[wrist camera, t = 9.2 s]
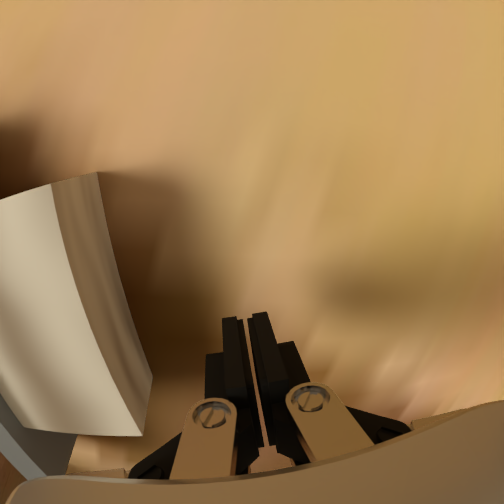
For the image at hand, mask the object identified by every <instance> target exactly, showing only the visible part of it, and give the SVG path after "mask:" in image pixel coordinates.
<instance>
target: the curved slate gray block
mask: <svg viewBox="0 0 504 504" xmlns="http://www.w3.org/2000/svg"><path fill="white" fill-rule="evenodd" d="M77 435H78V434H73V433H62V432H53V431H45V430H38V429H31V428H25V427H23V426H22V424H21V423H20V422H19V420H18V419H17V417H16V416H15V415H14V413H13V412H12V410H11V409H10V407H9V406H8V404H7V403H6V402H5V400H4V398H3V397H2V395H1V394H0V452H1V453H2V454H3V455H4V456H5V457H6V459H7V460H8V461H9V462H10V463H11V464H12V465H13V466H14V467H15V468H16V469H17V470H18V471H19V472H20V473H21V474H22V475H23V476H24V477H25V478H26V479H27V480H31V479H34V478H40V477H46V476H57V475H65V473H66V470H67V467H68V463H69V460H70V457H71V454H72V450H73V447H74V444H75V441H76V438H77Z"/></svg>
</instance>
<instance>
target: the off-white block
mask: <svg viewBox="0 0 504 504" xmlns="http://www.w3.org/2000/svg"><path fill="white" fill-rule="evenodd" d="M152 380H153V375H152V373H151V370H150V368H149V365H148V362H147V360H146V357H145V354H144V351H143V349H142V346H141V343H140V340H139V337H138V334H137V331H136V328H135V325H134V322H133V319H132V316H131V313H130V310H129V306H128V303H127V300H126V297H125V293H124V290H123V286H122V283H121V279H120V276H119V272H118V268H117V264H116V260H115V257H114V253H113V248H112V244H111V240H110V236H109V231H108V227H107V222H106V218H105V213H104V208H103V203H102V197H101V192H100V186H99V181H98V175H97V172H94V173H90V174H86V175H82V176H77V177H74V178H70V179H66V180H62V181H58V182H54V183H51V184H47V185H44V186H41V187H37V188H34V189H31V190H28V191H25V192H22V193H19V194H16V195H13V196H10V197H7V198H4V199H1V200H0V394H1V395H2V397H3V398H4V400H5V402H6V403H7V404H8V406H9V407H10V409H11V410H12V412H13V413H14V415H15V416H16V417H17V419H18V420H19V422H20V423H21V424H22V426H23V427H25V428H31V429H38V430H45V431H53V432H62V433H73V434H85V435H104V436H143V431H144V425H145V419H146V413H147V407H148V401H149V396H150V390H151V385H152Z"/></svg>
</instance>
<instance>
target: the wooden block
mask: <svg viewBox="0 0 504 504" xmlns="http://www.w3.org/2000/svg"><path fill="white" fill-rule="evenodd" d="M25 481H28V480H27V479H26V478H25V477H24V476H23V475H22V474H21V473H20V472H19V471H18V470H17V469H16V468H15V467H14V466H13V465H12V464H11V463H10V462H9V461H8V460H7V459H6V457H5V456H4V455H3V454H2V453H1V452H0V504H5V503H6V501H7V499H8V498H9V496H10V494H11V493H12V492H13V490H14V489H15V488H16V487H17V486H18V485H20V484H21V483H23V482H25Z"/></svg>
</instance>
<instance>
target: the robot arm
mask: <svg viewBox="0 0 504 504" xmlns="http://www.w3.org/2000/svg"><path fill="white" fill-rule="evenodd" d="M252 317H253V318H247V321H248V328H249V334H250V341H251V347H252V354H253V361H254V367H255V373H256V379H257V385H258V390H259V395H260V400H261V406H262V411H263V416H264V421H265V426H266V431H267V436H268V441H269V446H272V445H276V449H277V453H280V454H282V455H285V456H287V457H289V458H290V461H291V465H292V467H289V468H283V469H278V470H272V471H266V472H259V473H252V474H251V467H250V464H251V463H252V462H253V461H255V460H256V459H257V458H258V457H259V450H258V448H260V447H264V442H263V436H262V430H261V425H260V419H259V413H258V407H257V401H256V395H255V389H254V383H253V378H252V372H251V366H250V360H249V354H248V349H247V343H246V337H245V331H244V325H243V319H240V320H237V317H236V316H235V317H228V318H222V331H223V352H221V353H213V354H206V365H205V400H201V401H199V402H198V403H196V404H194V405H193V406H192V407H191V408H190V410H189V412H188V414H187V417H186V421H185V424H184V428H183V431H182V432H181V433H180V434H178V435H177V436H176V437H174V438H173V439H171V440H170V441H169V442H167V443H166V444H165V445H163V446H162V447H160V448H159V449H158V450H156V451H155V452H153V453H152V454H150V455H149V456H148V457H146V458H145V459H143V460H142V461H140V462H139V463H137V464H136V465H135V466H134V467H133V468H132V469H131V470H130V471H125V470H124V468H121V469H113V470H105V471H94V472H82V473H71V474H67V475H57V476H46V477H40V478H34V479H31V480H28V481H25V482H23V483H21V484H20V485H18V486H17V487H16V488H15V489H14V490H13V492H12V493H11V494H10V496H9V498H8V499H7V501H6V503H5V504H504V400H499V401H494V402H488V403H484V404H480V405H477V406H473V407H470V408H468V409H459V410H456V411H452V412H448V413H444V414H440V415H435V416H431V417H426V418H422V419H417V420H412V421H411V424H407V425H406V424H405V423H403V422H400V421H397V420H393V419H390V418H386V417H382V416H378V415H375V414H371V413H368V412H364V411H361V410H357V409H354V408H351V407H347V406H344V404H343V403H342V402H341V400H340V399H339V398H338V396H337V395H336V394H335V392H334V391H333V390H332V389H331V388H330V387H329V386H327V385H324V384H322V383H317V382H310V379H309V377H308V375H307V372H306V370H305V367H304V365H303V363H302V360H301V358H300V355H299V353H298V350H297V348H296V346H295V343H294V341H290V342H284V343H279V344H277V342H276V339H275V336H274V333H273V329H272V326H271V323H270V320H269V317H268V314H267V312H261V313H254V314H252Z"/></svg>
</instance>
